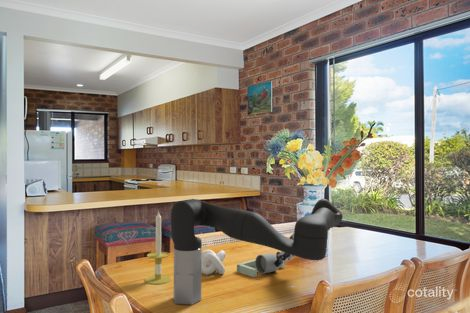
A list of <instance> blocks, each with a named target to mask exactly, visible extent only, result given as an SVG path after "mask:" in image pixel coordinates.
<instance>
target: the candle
mask: <svg viewBox="0 0 470 313" xmlns="http://www.w3.org/2000/svg"><path fill="white" fill-rule="evenodd" d="M146 257H147V258H148V259H154V275H151V276H148V277H146V278H145V280H144V283H146V284H148V285H156V286H157V285H163V284H167V283H169V282H170V281H172V277H171V276H169V275H165V274H164V275H163V274H162V259H165V258H167V257H170V253H169V252H166V251H162V216H161V214H160V210H158V211H157V214H156V216H155V251H154V252H153V251H152V252H149V253H148V254H146Z"/></svg>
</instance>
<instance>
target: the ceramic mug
mask: <svg viewBox="0 0 470 313" xmlns="http://www.w3.org/2000/svg"><path fill="white" fill-rule="evenodd" d="M255 259H256V260H255ZM255 259H254V260H255V269H257V273H259V274H261V275H264V274H269V273H274V272H277V271H278V270H279V269H280V266H279V267H276V266H275V264H274V262H275V261H276V260H277V258H276V254H275V253H267V254H266V253H264V254H263V253H262V254H258V255H257V256H256V258H255Z"/></svg>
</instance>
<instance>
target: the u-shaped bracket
mask: <svg viewBox="0 0 470 313" xmlns="http://www.w3.org/2000/svg"><path fill="white" fill-rule="evenodd" d="M255 260H256V258H255V259H251V260H248V261H244V262H240V263H237V264H236V272H238V273H241V274H243V275H246V276H249V277H252V278H256V277H258V271H257V269H256V268H255ZM285 264H286V262H283V263H282V264H281V265H280V267H279V269H284V268H285V267H286V265H285Z"/></svg>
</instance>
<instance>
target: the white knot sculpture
mask: <svg viewBox="0 0 470 313" xmlns="http://www.w3.org/2000/svg"><path fill="white" fill-rule="evenodd" d="M226 254H227V253H226V251H224V250H222V249H221V250H219V251H218V252H217V253H215V251H213V250H211V249H205V250H203V251H202V256H201V274H203V275H205V276H209V275H211V274H213V273H214V272H215V271H217V273H218V274H219V275H224V274H225V273H226V268H225V266H224V264H223V262H224V260H225V259H226Z"/></svg>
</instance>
